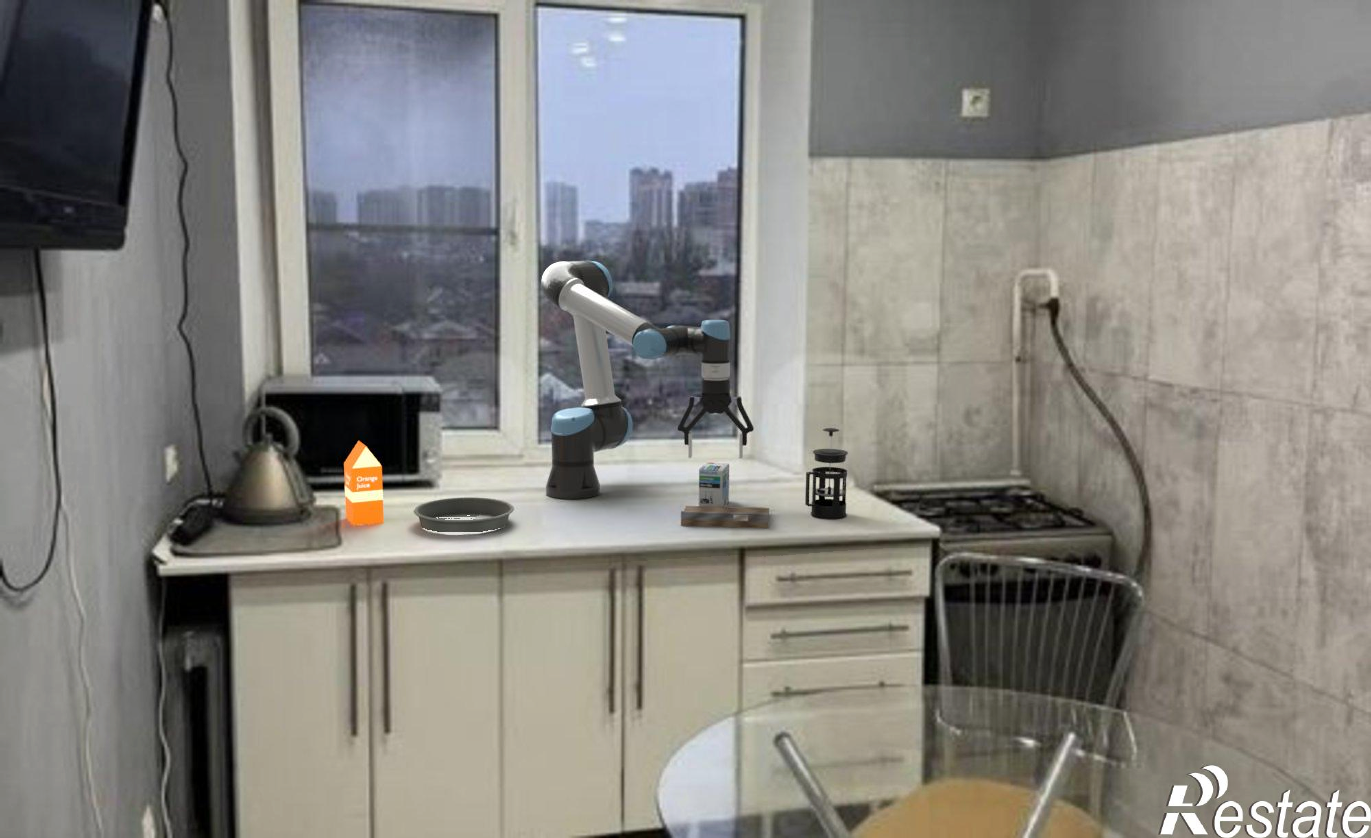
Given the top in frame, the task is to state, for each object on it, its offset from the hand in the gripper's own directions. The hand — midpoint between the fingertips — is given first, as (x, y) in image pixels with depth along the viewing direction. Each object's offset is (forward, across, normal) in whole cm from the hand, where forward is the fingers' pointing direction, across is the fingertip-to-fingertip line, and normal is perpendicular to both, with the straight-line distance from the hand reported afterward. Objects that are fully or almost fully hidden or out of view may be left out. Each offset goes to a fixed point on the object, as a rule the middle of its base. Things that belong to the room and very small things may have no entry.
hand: (715, 457), depth 317 cm
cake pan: (+13, -62, -28) cm, 69 cm away
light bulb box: (+13, 0, 0) cm, 13 cm away
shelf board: (+13, +4, -15) cm, 20 cm away
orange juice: (+12, -88, -27) cm, 92 cm away
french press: (+14, +30, -8) cm, 33 cm away
